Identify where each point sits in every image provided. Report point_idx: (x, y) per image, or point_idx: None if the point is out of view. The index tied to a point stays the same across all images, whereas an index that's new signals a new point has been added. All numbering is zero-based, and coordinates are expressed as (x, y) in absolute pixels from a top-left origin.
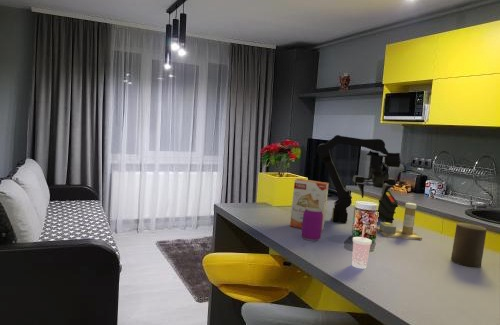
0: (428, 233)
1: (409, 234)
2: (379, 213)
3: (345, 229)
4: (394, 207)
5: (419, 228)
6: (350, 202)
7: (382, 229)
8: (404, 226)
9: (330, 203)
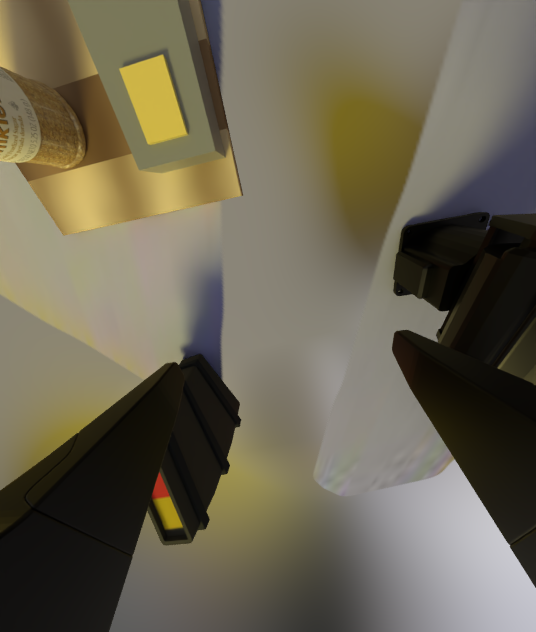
0: (11, 263)
1: None
2: (229, 407)
3: (473, 21)
4: None
5: (75, 330)
6: (523, 248)
7: (199, 55)
8: (19, 83)
9: (367, 476)
